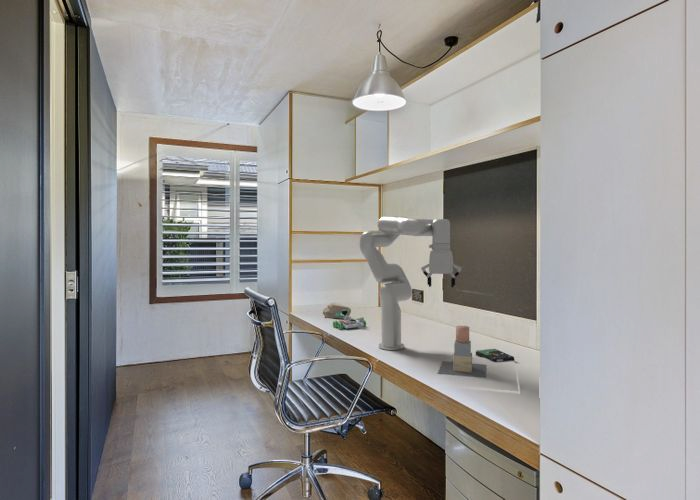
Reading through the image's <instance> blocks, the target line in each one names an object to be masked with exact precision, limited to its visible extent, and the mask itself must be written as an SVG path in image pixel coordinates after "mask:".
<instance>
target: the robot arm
mask: <svg viewBox="0 0 700 500" xmlns="http://www.w3.org/2000/svg"><path fill="white" fill-rule="evenodd" d="M377 221H378V222H377V227H378V230H375V229H374V230H367V231H364V232H363V233H362V234H361V235H360V238H359V248H360V251H361V253H362V255H363V257H364V258H365V260H366V262H367V264H368V265H369V269H370V270H371V273H372V274H373V275H372V276H373V277H374V279H375V281H376V282H377V283H379V284H383V285H381V286H380V288H379V292H378V295H379V300H380V306H381V307H380V308H381V342H380V343H379V344H378V348H380V349H382V350H385V351H398V350H403V349H404V348H405V343H402V310H401V307H400V305H399V302H404V301H408V300H410V299H411V297H412V295H413V289H412V286H411V284H410V281H409V279H408V278H407V276H406V273H405V272H404V270H403V268H402V267H401V265H399V264H397V263H388V262H387V261H386V259H385V257H384V256H383V254H382V253H381V251H379V250H378V248H385V247H389V246H391V245H392V244H393V243H394V242H395V241H396V240H397V239H398V238H399V236H401V235H402V236H412V237H431V238H432V239H431V241H432V244H429V245H428V248H429V249H431V250H430V252H429V259H428V260H429V261H428V264H426V265H423V266H422V267H420V270H421V272H422V273H423V275H425V277H426V278H427V284H426V285H428V287H429V288H430V287H432V277H431V276H432V275H433V274H435V275H442V274H443V275H450V276H451V278H450V281H451V284H450V285H451V286H450V287H451V288H454V287H455V286H456V278H457V276H459V274H460V273H461V271H462V267H461V266H459V265H457V264H456V263H454V257H453V253H452V252H453V251H452V250H451V223H450V220H449V219H446V218H436V219H427V218H426V219H425V218H408V217H406V216H397V215H395V216H394V215H385V216H382V217H380V219H379V218H378V220H377ZM426 269H428V271H426ZM454 269H456V272H455V273H454Z"/></svg>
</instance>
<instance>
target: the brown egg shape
mask: <svg viewBox="0 0 700 500" xmlns="http://www.w3.org/2000/svg"><path fill="white" fill-rule="evenodd" d="M455 340H456V342H457V343H469V341H470V326H468V325H456V327H455Z"/></svg>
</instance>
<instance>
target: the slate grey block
mask: <svg viewBox="0 0 700 500" xmlns="http://www.w3.org/2000/svg"><path fill="white" fill-rule="evenodd" d="M453 347H454V351H453V352H454V353H453V355H454V356H467V357H470V355H471V353H472V341H471V340H469V343H457V342H456V339H455V341H454V344H453Z"/></svg>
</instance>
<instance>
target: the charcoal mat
mask: <svg viewBox="0 0 700 500" xmlns="http://www.w3.org/2000/svg"><path fill="white" fill-rule="evenodd" d="M487 366H488V365H487V364H483V363H472V371H471V372H462V371H453V361H448V360H447V361H444V360H442V362H441V364H440V366H439V369H438V372H437V373H436V374H438V375H446V376H447V375H449V376H459V377H461V376H462V377H470V378H471V377H472V378H479V379H481V378H482V379H486V378H487V377H486V376H487Z"/></svg>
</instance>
